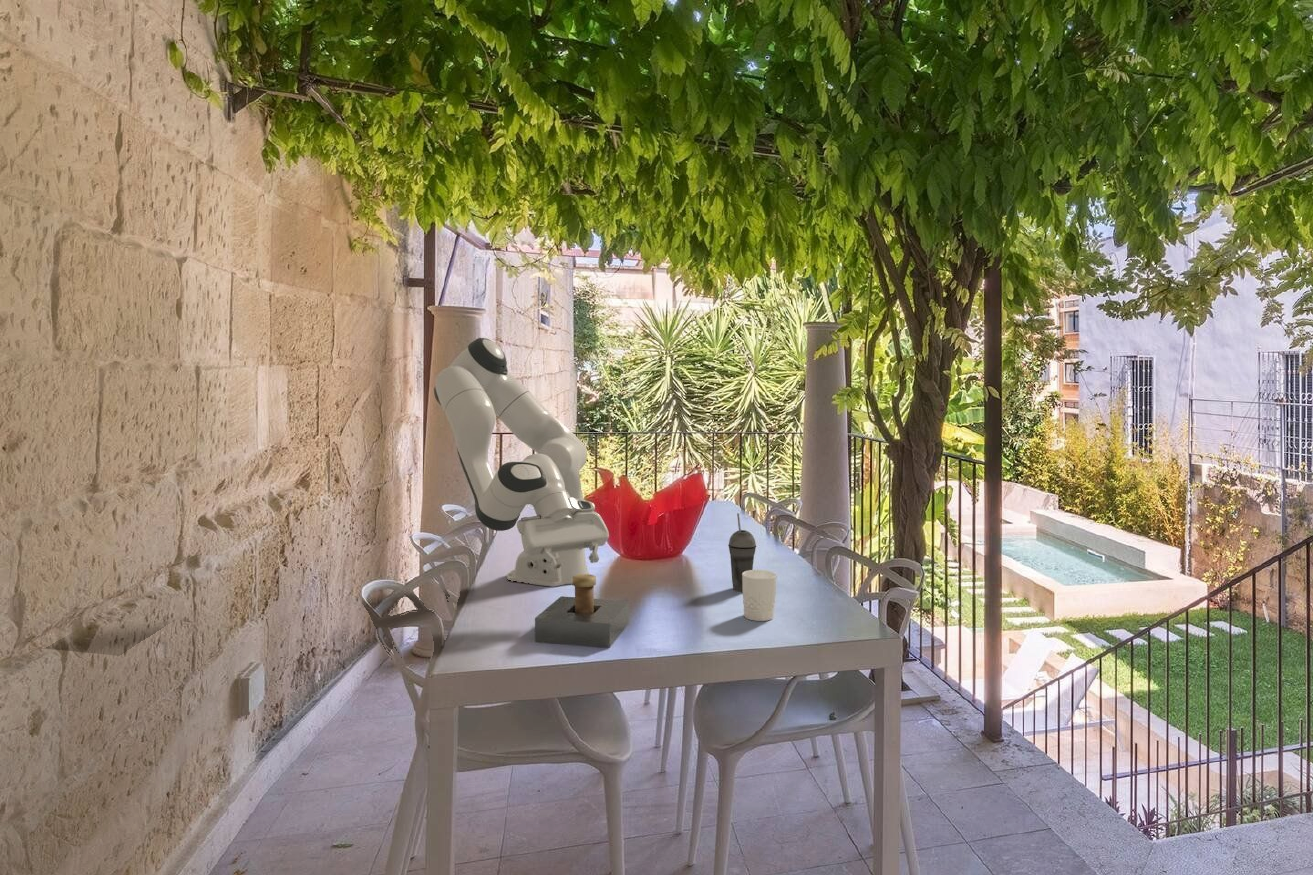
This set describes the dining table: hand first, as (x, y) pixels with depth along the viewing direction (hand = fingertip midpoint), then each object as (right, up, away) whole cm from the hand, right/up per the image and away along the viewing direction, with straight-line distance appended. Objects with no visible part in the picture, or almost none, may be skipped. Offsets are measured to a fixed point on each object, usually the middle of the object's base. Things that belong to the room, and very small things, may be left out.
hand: (576, 564), depth 161 cm
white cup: (+41, -13, +6) cm, 44 cm away
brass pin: (+2, -14, -5) cm, 15 cm away
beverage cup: (+40, -12, +29) cm, 51 cm away
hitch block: (+2, -14, -5) cm, 15 cm away
